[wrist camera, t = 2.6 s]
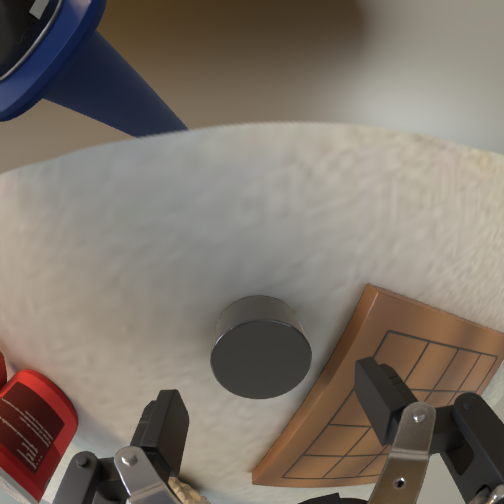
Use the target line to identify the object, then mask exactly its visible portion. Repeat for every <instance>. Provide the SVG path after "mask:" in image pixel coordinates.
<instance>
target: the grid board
mask: <svg viewBox="0 0 504 504" xmlns="http://www.w3.org/2000/svg"><path fill="white" fill-rule="evenodd" d="M370 356H372V357H373V358H374V359H375V360H376V362H377V363H378V364H379V365H380V364H383V363H385V364H387V365H389V366H391V367H392V368H394V370H395V371H396V372H397V373H398V375H399V376H400V377H401V378H402V380H403V382H405V384H406V385H407V386H408V387H409V389H410V390H411V391H412V393H413V394H414V395H415V397H416V398H417V399H418V401H419V402H426V403H429V404H431V405H432V406H433V407H434V408H437V407H443V406H448V405H453V404H454V401H455V399H456V398H457V397H458V396H459V395H461V394H463V393H466V392H472V393H476V394H478V395H480V396H481V395H482V393H483V392H484V390H485V389H486V387H487V386H488V384H489V383H490V381H491V379H492V378H493V376H494V375H495V373H496V371H497V370H498V368H499V366H500V365H501V363H502V361H503V359H504V334H503V333H500V332H498V331H495V330H492V329H490V328H487V327H484V326H482V325H479V324H477V323H474V322H471V321H469V320H466V319H463V318H461V317H458V316H455V315H453V314H450V313H447V312H445V311H442V310H439V309H437V308H434V307H431V306H429V305H426V304H423V303H421V302H418V301H415V300H412V299H410V298H407V297H404V296H402V295H399V294H396V293H393V292H391V291H388V290H385V289H382V288H380V287H377V286H374V285H371V284H367V286H366V289H365V291H364V293H363V295H362V297H361V299H360V302H359V304H358V306H357V308H356V310H355V312H354V314H353V316H352V318H351V320H350V322H349V324H348V326H347V328H346V330H345V332H344V334H343V335H342V337H341V339H340V341H339V343H338V345H337V347H336V348H335V350H334V352H333V354H332V356H331V357H330V359H329V361H328V363H327V364H326V366H325V368H324V370H323V371H322V373H321V375H320V376H319V378H318V380H317V381H316V383H315V385H314V386H313V388H312V389H311V391H310V393H309V394H308V396H307V397H306V399H305V400H304V402H303V404H302V405H301V407H300V408H299V410H298V411H297V413H296V414H295V416H294V417H293V419H292V420H291V421H290V423H289V424H288V426H287V427H286V429H285V430H284V431H283V433H282V434H281V436H280V437H279V438H278V440H277V441H276V442H275V444H274V445H273V446H272V448H271V449H270V450H269V452H268V453H267V454H266V456H265V457H264V458H263V459H262V461H261V462H260V463H259V465H258V466H257V467H256V468H255V469H254V471H253V472H252V484H253V485H263V486H275V487H299V488H317V487H340V486H353V485H362V484H371V483H377V481H378V479H379V476H380V474H381V472H382V469H383V467H384V464H385V462H386V459H387V457H388V454H389V452H390V450H391V445H390V444H388V445H386V446H383V447H382V446H381V444H380V442H379V440H378V438H377V436H376V434H375V432H374V430H373V428H372V426H371V424H370V422H369V420H368V418H367V416H366V414H365V412H364V410H363V408H362V406H361V404H360V402H359V400H358V398H357V396H356V393H355V386H354V384H355V362H356V360H360V359H363V358H367V357H370ZM431 455H432V454H431ZM431 455H430V456H431Z"/></svg>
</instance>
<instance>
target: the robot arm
mask: <svg viewBox="0 0 504 504" xmlns="http://www.w3.org/2000/svg"><path fill="white" fill-rule="evenodd" d="M64 1H65V0H0V83H2V82H4V81H5V80H7V79H8V78H9V77H11V76H12V75H13V74H14V73H15V72H16V71H17V70H18V69H20V68H21V67H22V65H23V64H24V63H25V62H26V61H27V60H28V59H29V58H30V57H31V56H32V54H33V53H34V52H35V51H36V50H37V48H38V47H39V46H40V44H41V43H42V42H43V40H44V39H45V38H46V36H47V35H48V33H49V32H50V30H51V29H52V27H53V26H54V24H55V22H56V21H57V19H58V17H59V15H60V13H61V10H62V8H63V5H64ZM354 386H355V393H356V396H357V398H358V400H359V402H360V404H361V406H362V408H363V410H364V412H365V414H366V416H367V418H368V420H369V422H370V424H371V426H372V428H373V430H374V432H375V434H376V436H377V438H378V440H379V442H380V444H381V446H382V447H383V446H386V445H388V444H390V445H391V450H390V452H389V454H388V457H387V459H386V462H385V464H384V467H383V469H382V472H381V474H380V476H379V479H378V481H377V483H376V485H375V487H374V490H373V492H372V494H371V496H370V498H369V500H368V501H366V500H362V499H356V498H340V496H339V493H334V494H330V495H326V496H321V497H317V498H312V499H309V500H306V501H304V502H301V503H298V504H416V502H417V499H418V496H419V493H420V490H421V487H422V484H423V480H424V477H425V474H426V470H427V466H428V463H429V458H430V455H431V454H436V453H440V455H441V457H442V459H443V461H444V462H445V464H446V466H447V468H448V470H449V472H450V474H451V475H452V477H453V479H454V481H455V483H456V485H457V487H458V489H459V491H460V493H461V495H462V497H463V499H464V501H465V503H466V504H504V424H503V422H502V421H501V420H500V419H499V418H498V416H497V415H496V414H495V413H494V412H493V410H492V409H491V408H490V407H489V406H488V404H487V403H486V402H485V401H484V400H483V399H482V397H481V396H480V395H478V394H476V393H472V392H466V393H463V394H461V395H459V396H458V397H457V398H456V399H455V401H454V404H453V405H448V406H443V407H437V408H434V407H433V406H432V405H431V404H429V403H426V402H419V401H418V399H417V398H416V397H415V395H414V394H413V393H412V391H411V390H410V389H409V387H408V386H407V385H406V384H405V382H403V380H402V378H401V377H400V376H399V375H398V373H397V372H396V371H395V370H394V368H392V367H391V366H389V365H387V364H385V363H383V364H380V365H379V364H378V363H377V362H376V360H375V359H374V358H373V357H372V356H370V357H367V358H363V359H360V360H356V362H355V384H354ZM188 427H189V415H188V412H187V409H186V407H185V405H184V403H183V400H182V398H181V396H180V394H179V392H178V390H176V389H175V390H161V391H160V392H159V395H158V397H157V400H156V401H151V402H150V403H149V404H148V405H147V406H146V407H145V409H144V411H143V414H142V417H141V418H140V421H139V424H138V426H137V428H136V431H135V433H134V436H133V438H132V441H131V443H130V446H128V447H124V448H122V449H121V450H119V451H118V452H117V453H116V455H115V457H111V458H102V459H98V458H97V457H96V456H95V455H94V454H93V453H91V452H88V451H83V452H79V453H77V454H76V455H75V456H73V458H72V459H71V461H70V464H69V466H68V468H67V470H66V472H65V475H64V477H63V479H62V481H61V484H60V486H59V488H58V491H57V493H56V496H55V498H54V500H53V503H52V504H126V502H127V499H128V501H129V504H183V502H182V501H181V500H180V498H179V497H178V496H177V494H176V493H175V492H174V490H173V489H172V487H171V486H170V485H169V483H168V481H169V477H179V471H180V466H181V461H182V456H183V451H184V446H185V441H186V437H187V432H188ZM95 493H96V494H95ZM94 496H95V497H94Z"/></svg>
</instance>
